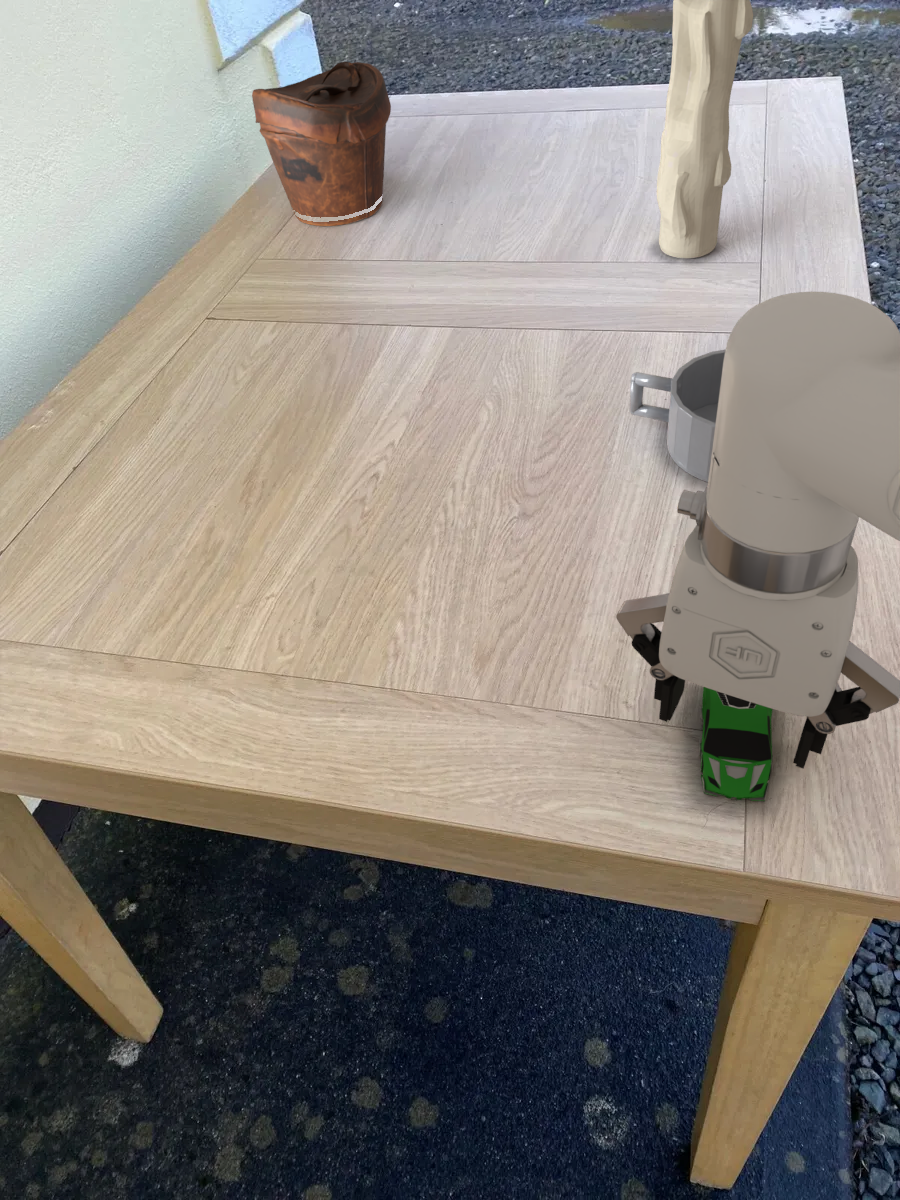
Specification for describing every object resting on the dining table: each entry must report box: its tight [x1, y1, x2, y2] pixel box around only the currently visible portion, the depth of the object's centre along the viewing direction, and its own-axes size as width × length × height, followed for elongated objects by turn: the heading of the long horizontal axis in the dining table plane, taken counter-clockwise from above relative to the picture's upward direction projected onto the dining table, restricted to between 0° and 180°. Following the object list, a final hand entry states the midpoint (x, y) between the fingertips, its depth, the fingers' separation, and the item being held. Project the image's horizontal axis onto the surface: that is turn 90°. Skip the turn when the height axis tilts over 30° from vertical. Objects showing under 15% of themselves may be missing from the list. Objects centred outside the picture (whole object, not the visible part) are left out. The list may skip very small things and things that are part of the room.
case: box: [251, 61, 392, 227], centre depth 125 cm, size 18×20×18 cm
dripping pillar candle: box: [656, 0, 754, 259], centre depth 101 cm, size 9×8×30 cm
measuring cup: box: [629, 348, 726, 483], centre depth 82 cm, size 17×13×6 cm
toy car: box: [698, 686, 774, 802], centre depth 61 cm, size 10×5×2 cm, turn 167°
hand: (735, 726), depth 61 cm, fingers open, 8 cm apart
